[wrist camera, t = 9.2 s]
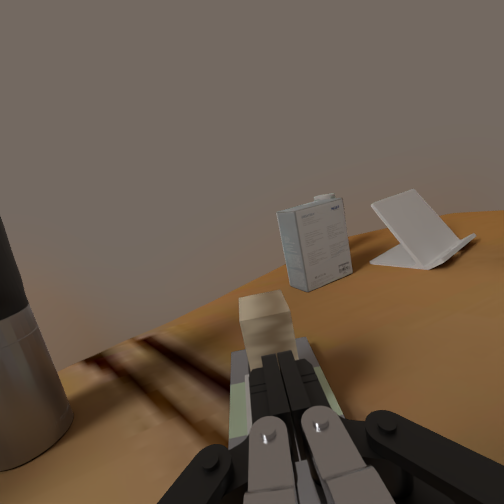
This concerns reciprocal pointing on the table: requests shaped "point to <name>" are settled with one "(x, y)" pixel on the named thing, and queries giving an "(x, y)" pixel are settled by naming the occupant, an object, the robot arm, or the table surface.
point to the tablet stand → (416, 233)
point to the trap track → (242, 409)
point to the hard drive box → (315, 243)
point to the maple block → (266, 326)
